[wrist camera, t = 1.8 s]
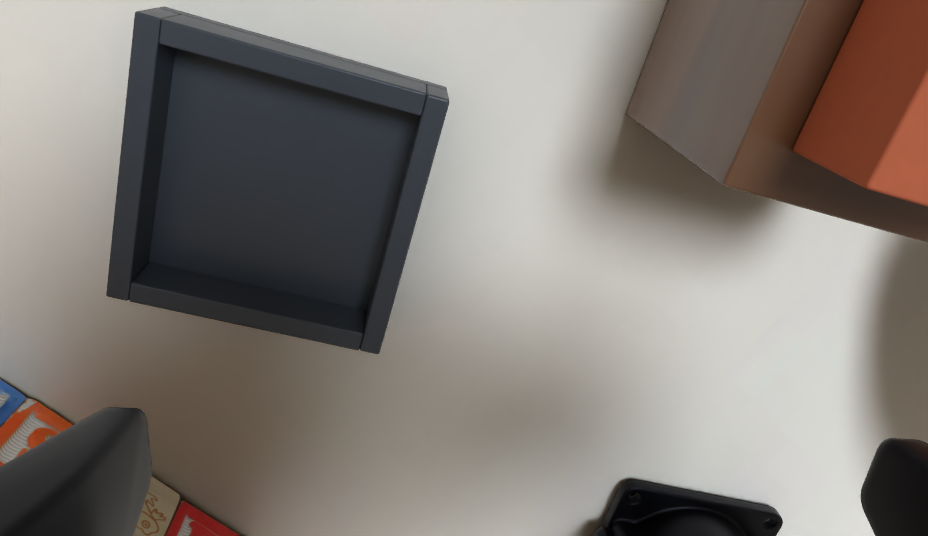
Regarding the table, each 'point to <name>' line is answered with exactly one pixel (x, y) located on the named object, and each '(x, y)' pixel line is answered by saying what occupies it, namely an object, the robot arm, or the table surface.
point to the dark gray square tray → (267, 180)
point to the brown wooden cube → (757, 101)
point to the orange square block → (876, 103)
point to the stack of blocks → (30, 423)
